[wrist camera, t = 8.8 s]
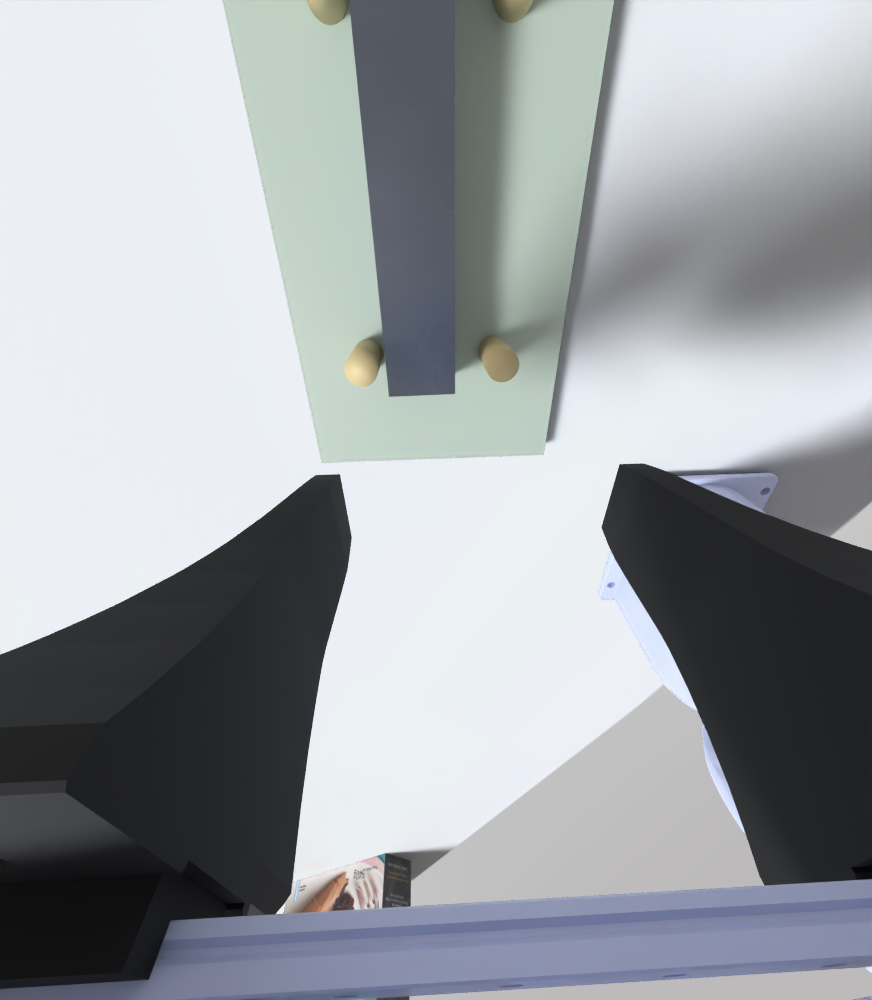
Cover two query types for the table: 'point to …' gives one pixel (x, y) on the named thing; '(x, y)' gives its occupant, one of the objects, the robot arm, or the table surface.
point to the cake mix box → (355, 889)
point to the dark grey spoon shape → (411, 182)
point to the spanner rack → (478, 216)
